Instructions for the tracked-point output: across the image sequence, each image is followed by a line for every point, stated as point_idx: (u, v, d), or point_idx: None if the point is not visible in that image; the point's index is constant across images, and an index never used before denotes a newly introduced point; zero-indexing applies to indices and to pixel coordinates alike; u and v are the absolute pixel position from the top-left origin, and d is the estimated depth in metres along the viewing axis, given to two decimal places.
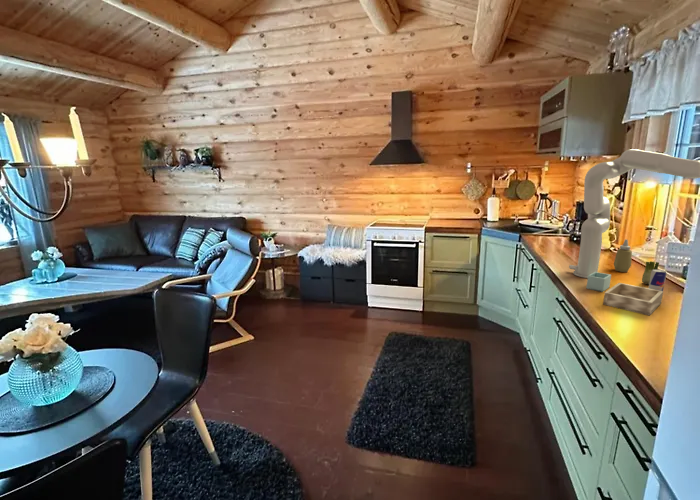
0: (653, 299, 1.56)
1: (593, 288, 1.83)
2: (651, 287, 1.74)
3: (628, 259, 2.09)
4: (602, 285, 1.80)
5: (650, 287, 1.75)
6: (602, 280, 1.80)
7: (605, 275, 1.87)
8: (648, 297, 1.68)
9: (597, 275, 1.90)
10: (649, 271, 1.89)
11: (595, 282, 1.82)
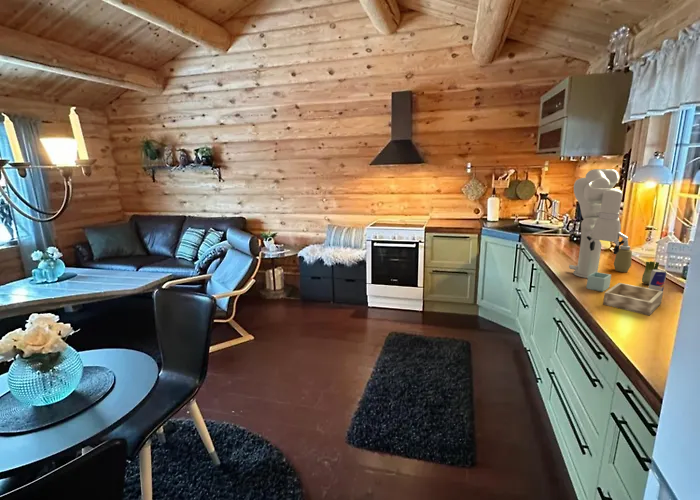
0: (653, 299, 1.56)
1: (593, 288, 1.83)
2: (651, 287, 1.74)
3: (628, 259, 2.09)
4: (602, 285, 1.80)
5: (650, 287, 1.75)
6: (602, 280, 1.80)
7: (605, 275, 1.87)
8: (648, 297, 1.68)
9: (597, 275, 1.90)
10: (649, 271, 1.89)
11: (595, 282, 1.82)
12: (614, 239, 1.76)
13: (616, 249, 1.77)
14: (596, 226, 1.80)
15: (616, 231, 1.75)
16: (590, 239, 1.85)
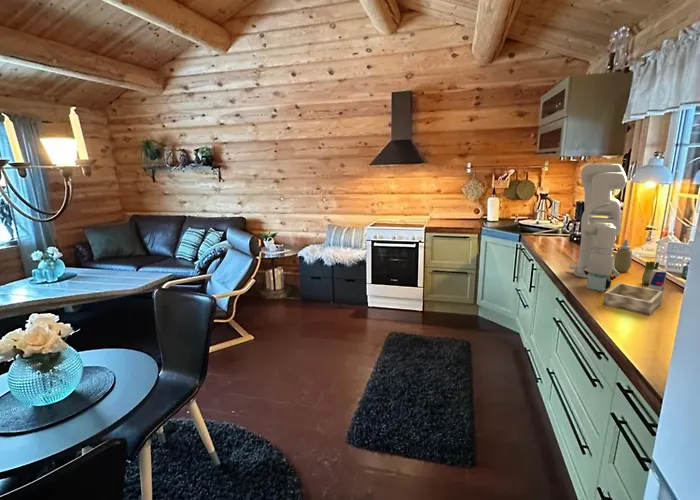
0: (653, 299, 1.56)
1: (593, 288, 1.83)
2: (651, 287, 1.74)
3: (628, 259, 2.09)
4: (602, 285, 1.80)
5: (650, 287, 1.75)
6: (602, 280, 1.80)
7: None
8: (648, 297, 1.68)
9: (597, 275, 1.90)
10: (649, 271, 1.89)
11: (595, 282, 1.82)
12: (608, 273, 1.80)
13: (608, 284, 1.82)
14: (591, 260, 1.84)
15: (610, 266, 1.79)
16: (587, 274, 1.88)
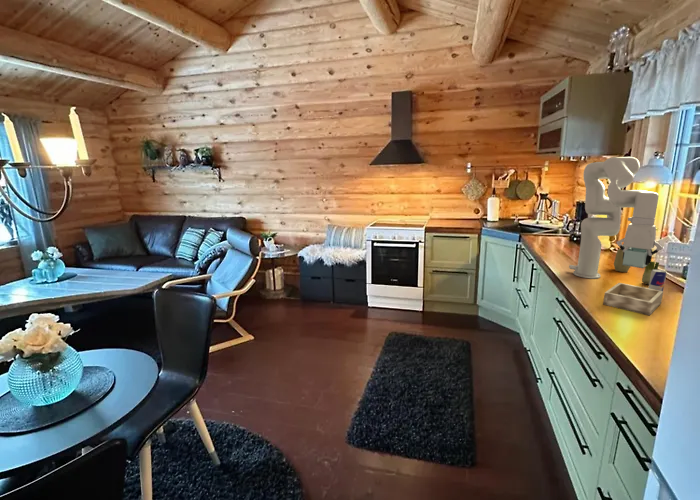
0: (653, 299, 1.56)
1: (631, 264, 1.60)
2: (651, 287, 1.74)
3: None
4: (642, 260, 1.57)
5: (650, 287, 1.75)
6: (642, 254, 1.57)
7: (644, 250, 1.64)
8: (648, 297, 1.68)
9: (634, 250, 1.66)
10: (649, 271, 1.89)
11: (633, 257, 1.59)
12: (649, 247, 1.56)
13: (648, 259, 1.59)
14: (628, 232, 1.61)
15: (652, 238, 1.56)
16: (623, 249, 1.65)
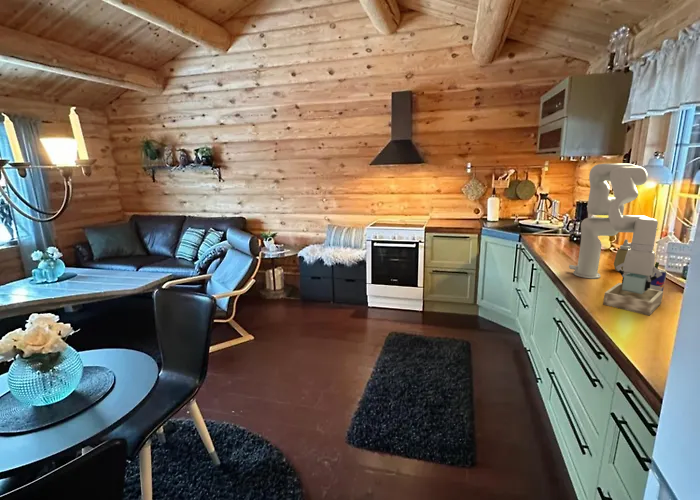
0: (653, 299, 1.56)
1: (630, 290, 1.61)
2: (651, 287, 1.74)
3: None
4: (641, 286, 1.58)
5: (650, 287, 1.75)
6: (641, 281, 1.57)
7: (643, 275, 1.64)
8: (648, 297, 1.68)
9: (633, 275, 1.67)
10: None
11: (633, 283, 1.60)
12: (648, 273, 1.57)
13: (647, 285, 1.60)
14: (627, 258, 1.62)
15: (651, 264, 1.56)
16: (622, 274, 1.66)
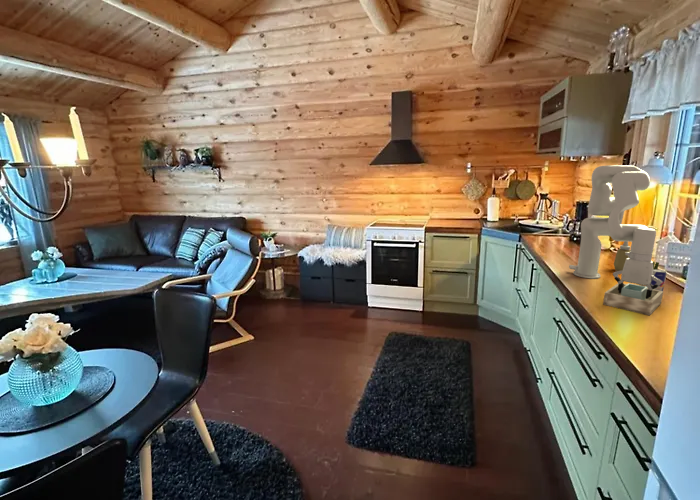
0: (653, 299, 1.56)
1: None
2: None
3: None
4: None
5: None
6: (639, 293, 1.59)
7: (640, 287, 1.66)
8: None
9: (631, 287, 1.69)
10: None
11: (630, 295, 1.61)
12: (647, 283, 1.58)
13: (648, 293, 1.60)
14: (626, 267, 1.63)
15: (649, 274, 1.57)
16: (618, 280, 1.67)
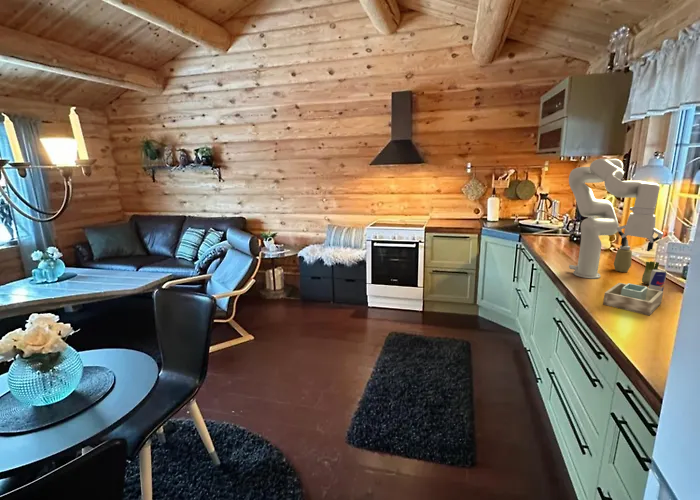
0: (653, 299, 1.56)
1: None
2: (651, 287, 1.74)
3: (628, 259, 2.09)
4: None
5: (650, 287, 1.75)
6: (639, 293, 1.59)
7: (640, 287, 1.66)
8: (648, 297, 1.68)
9: (631, 287, 1.69)
10: (649, 271, 1.89)
11: (630, 295, 1.61)
12: (648, 235, 1.67)
13: (650, 246, 1.68)
14: (629, 221, 1.71)
15: (651, 227, 1.66)
16: (622, 234, 1.76)
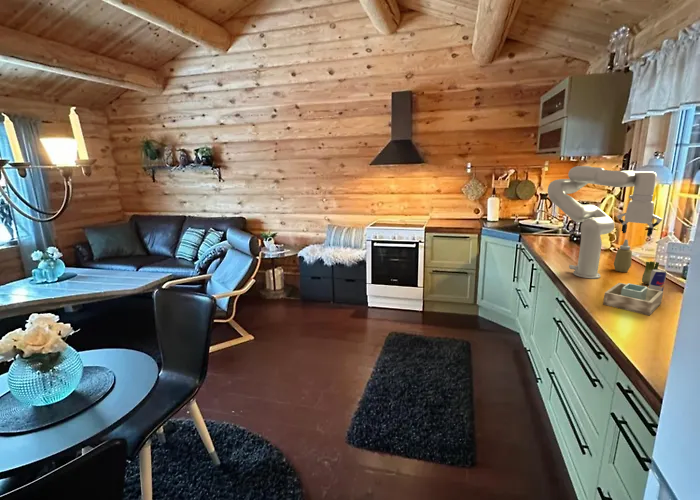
0: (653, 299, 1.56)
1: None
2: (651, 287, 1.74)
3: (628, 259, 2.09)
4: None
5: (650, 287, 1.75)
6: (639, 293, 1.59)
7: (640, 287, 1.66)
8: (648, 297, 1.68)
9: (631, 287, 1.69)
10: (649, 271, 1.89)
11: (630, 295, 1.61)
12: (648, 221, 1.76)
13: None
14: (629, 208, 1.80)
15: (650, 213, 1.75)
16: (622, 222, 1.85)
